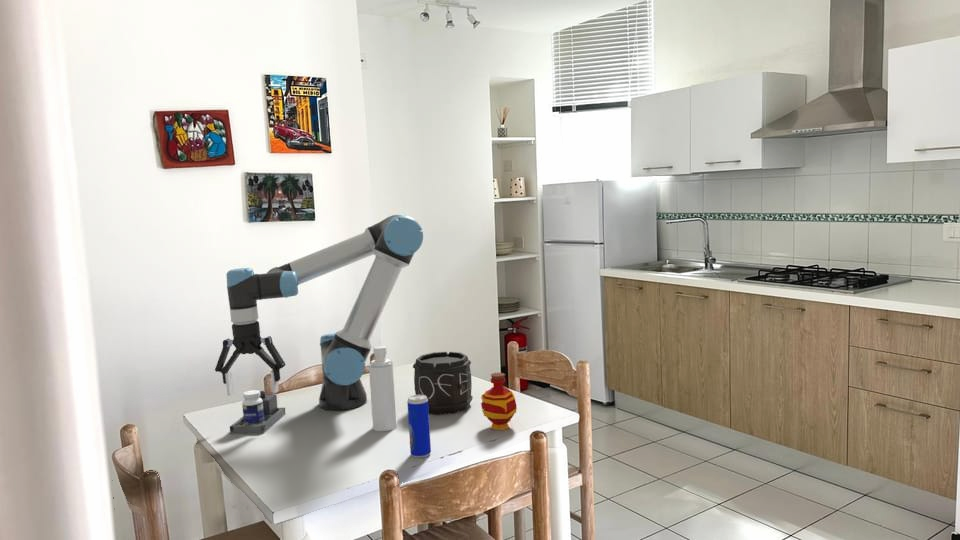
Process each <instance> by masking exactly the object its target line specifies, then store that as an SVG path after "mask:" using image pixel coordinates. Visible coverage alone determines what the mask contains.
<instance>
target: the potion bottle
mask: <svg viewBox="0 0 960 540" xmlns="http://www.w3.org/2000/svg"><path fill="white" fill-rule="evenodd" d="M505 376H506V374H505V373H503V372H493V373H491V374H490V377H491V378H490V383H491V384H493V386H492V387H491V388H489V389H488V390H486V391H485V392H484V393H483V394H481V398H480V399H481V401H482V402H481V403H480V407H481V411H482V413H483V416H484V417H486V418H487V419H488V420H489V421H490V422H491V425H490V427H491V429H492V430H496V431H500V430H501V431H502V430H506V429H508V428H510V424H509V422H511V419H512V418H513V417H514V415H515V414H516V413H517V410H518V407H517V403H516V398H515V394H514V393H513V391H512V390H510V389H509V388H508V387H507V386H505V385H504V383H506V378H505Z"/></svg>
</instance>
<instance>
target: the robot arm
mask: <svg viewBox="0 0 960 540" xmlns="http://www.w3.org/2000/svg"><path fill="white" fill-rule="evenodd" d="M423 241H424V231H423V229H422V226H421V224H420V223H419V222H418V221H417V220H416V219H415V218H414V217H412V216H409V215H405V214H394V215H393V214H392V215H390V216H387V217H386V218H384V219H383V220H381V221H380V222H377V223H375V224H373V225H371V226H368V227H366V228H365V229H364V232H362V233H359V234H357V235H355V236H352V237H349V238H347V239H345V240H342V241H340V242H337V243H335V244H333V245H330V246H328V247H325V248H322V249H320V250H318V251H315V252H312V253H310V254H307V255H305V256H302V257H300V258H298V259H295V260H292V261H290V262H288V263H285V264H283V265H280V266H275V267H273V268H270V269H269V270H268V271H266V273H255V272H254V269H253V268H251V267H242V268H234V269H230V270H228V271H227V272H226V273H225V275H226V290H227V297H228V304H229V305H228V306H229V314H230V322H231V323H232V325H231V332H232V338H233V339H230V338H226V339H224V340H223V341H222V349H221V351H220V355H219V357H218V360H217V362H216V365H215V368H214V371H215V373H216V372H217V373H221V375H222V383H223V384H224V385H226V394H227V396H229V397H230V396H232V395H233V394H235V389H234V381H233V372H232V371H231V368H232V366H233V365H234V364H235V362H236V361H237V360H238V357H239V356H240V355H246V354H248V355H253V354H255V355H256V356H258V357H259V358H260V359H262V361H263V362H264V363H265V364H266V365H267V366H268V367H269V368H270V369H271V371H270V373H269V374H270V378H271V380H270V381H271V388H272V389H271V390H272V394H277V393H278V392H279V381H280V380H281V373H280V371H281V369H283V368H284V367H285V366H286V362H285V360H284V359H283V357H282V356H281V354H280V352H279V351H278V349H277V348H276V346H275V344H274V342H273V338H272V336H270V335H269V336H267V337H261V328H260V322H259V321H258V319H259V312H258V311H259V310H258V302H257V301H261V300H269V299H270V300H272V299H279V298H281V299H283V298H285V299H287V298H289V297H290V298H291V297H294V296H298V295H299V287H298V286H300V285H302V284H304V283H307V282H310V281H311V280H314V279H316V278H319V277H322V276H325V275H327V274H329V273H332V272H334V271H336V270H338V269H341V268H344V267H346V266H348V265H350V264H354V263H356V262H358V261H360V260H363V259H365V258H368V257H370V256H375V258H374V260H373V262H372V264H371V267H370V269H369V271H368V273H367V276H366V278H365V280H364V282H363V285H362V287H361V288H360V291H359V294H358V295H357V298H356V300H355V302H354V304H353V306H352V309H351V311H350V312H349V313H350V314H349V315H348V318H347V319H346V322H345V324H344V326H343V328H342V329H340V330H338V331H336V332H334V333H328V334H323V335H321V336H320V339H319V342H320V343H319V346H320V355H321V367H322V368H321V370H322V386H321V389H320V394H319V397H318V403H319V404H318V405H319V408H321V409H323V410H328V411H343V410H349V409H355V408H357V407H361V406H363V405H365V404H367V402H368V398H367V395H368V394H367V392H366V390H365V387H364V385H363V383H362V380H361V379H362V376H363V375H364V373H365V369H366V361H367V359H368V356H369V354H370V353H371V352H370V351H371V350H372V345H371V343H370V342H371V341H370V339H371V337H372V336H373V334H374V331H375V329H376V326H377V324H378V322H379V320H380V317H381V316H382V313H383V311H384V308H385V306H386V304H387V302H388V300H389V298H390V296H391V293H392V292H393V289H394V287H395V285H396V283H397V280H398V278H399V276H400V274H401V272H402V270H403V269H404V268H406V267H408V266H410V263H411V261H412V259H413V257H414V255H415V253H417V252H418V250H419V249H420V248H421V246H422V244H423ZM262 344H263V345H264V346H265V347H266V349H267V351H268V353H269V354H270V355H269V354H268V353H267V352H266V350H265V349H264V348H263V347H262V346H261V345H262ZM233 346H234V347H235V350H234V351H233V353H232V355H231V356H230V358H228V355H229V352H230V349H231V347H233ZM227 358H228V361H227V362H226V360H227Z"/></svg>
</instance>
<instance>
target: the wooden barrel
mask: <svg viewBox="0 0 960 540" xmlns="http://www.w3.org/2000/svg"><path fill="white" fill-rule="evenodd" d="M471 364H472V361H471V360H470V359H469V358H468V355H466V354H464V353H463V352H460V351H459V352H457V351H449V353H448V352H447V351H438V352H437V351H435V352H431V353H429V352H428V353H426V354H421V355H419V356H418V357H417V358H416V359H415V362H414V363H413V364H412V368H413V369H414V371H413V374H414V375H413V381H414V384H413V385H414V393H415V394H414V395H426V396H427V399H428V410H429V415H437V416H440V415H442V416H443V415H452V414H457V413H460V412H464V411H466V410H467V409H468V407H469V406H470V403H471V402H472V400H473V398H474V397H473V396H472V387H473V386H472V384H473V383H472V371H471Z"/></svg>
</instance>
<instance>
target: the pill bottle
mask: <svg viewBox="0 0 960 540" xmlns="http://www.w3.org/2000/svg"><path fill="white" fill-rule="evenodd" d="M260 391H261V390H258V389H251V390H247V391H244V392H243V393H242V394H243V396H242V397H243V401H242V403H241V404H242V414H243V416H242V417H244V425H262V424H263V423H264V411H263V400H262V399H261V398H260V397H259V396H260Z"/></svg>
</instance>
